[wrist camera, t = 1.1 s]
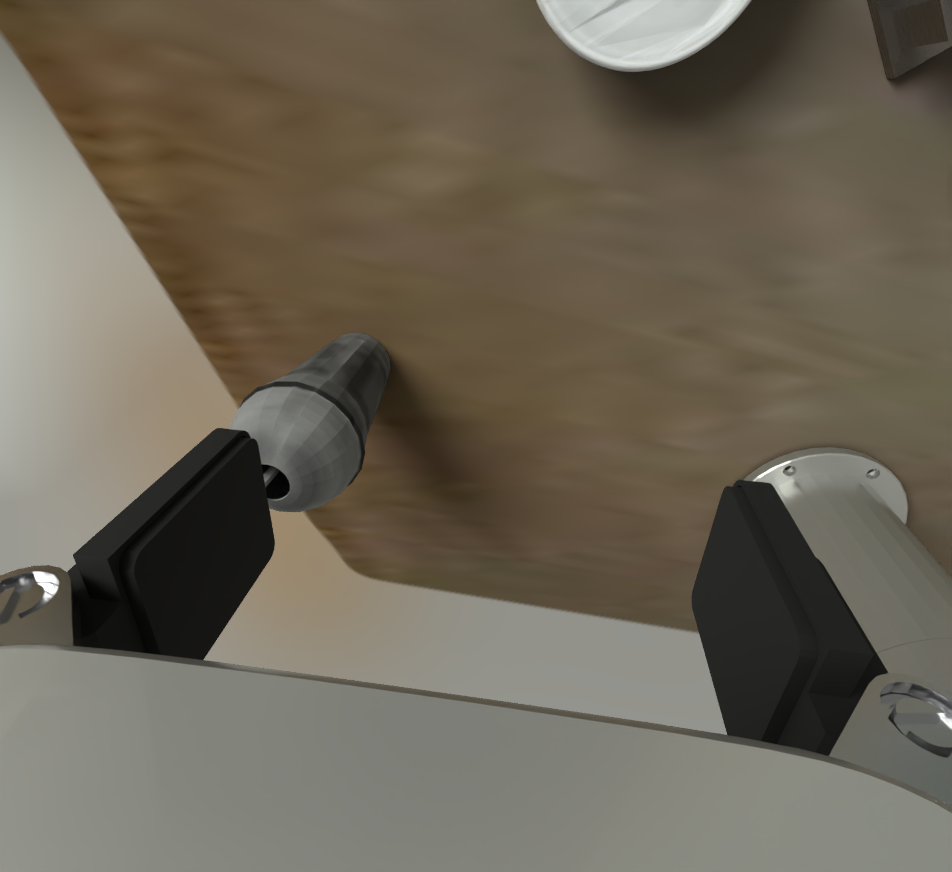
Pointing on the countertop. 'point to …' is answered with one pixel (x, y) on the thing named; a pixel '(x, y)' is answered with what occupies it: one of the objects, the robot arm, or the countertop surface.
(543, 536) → the countertop surface
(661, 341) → the countertop surface
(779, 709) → the robot arm
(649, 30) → the ramekin
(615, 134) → the countertop surface
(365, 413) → the beverage cup
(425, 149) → the countertop surface
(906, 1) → the cradle
